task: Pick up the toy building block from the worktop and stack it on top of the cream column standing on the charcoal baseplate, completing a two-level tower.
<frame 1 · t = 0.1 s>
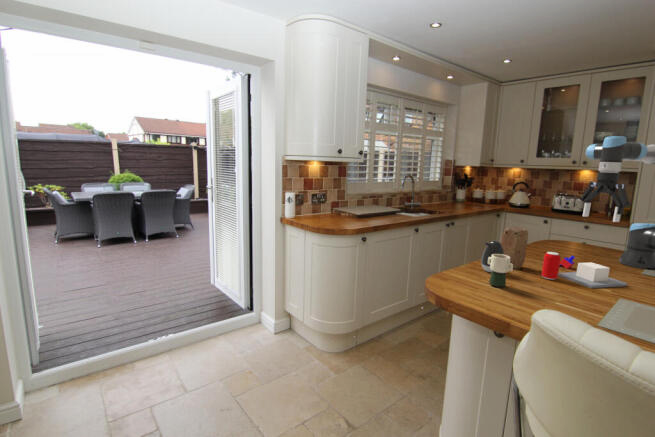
hand: (600, 219, 150), 28 cm above the table, tool pointing down, fingers open, 13 cm apart
build base: (590, 280, 150), on the table
block: (510, 266, 167), on the table
character mug: (496, 286, 139), on the table
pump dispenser: (491, 271, 158), on the table
beverage can: (548, 278, 151), on the table
toy building block: (565, 267, 169), on the table
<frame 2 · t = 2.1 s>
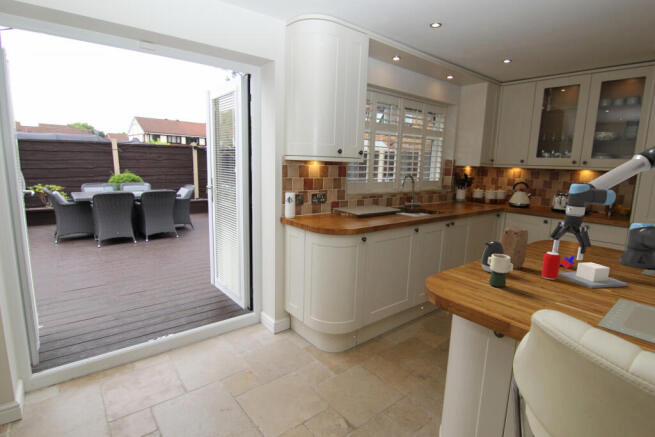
hand: (566, 255, 167), 6 cm above the table, tool pointing down, fingers open, 13 cm apart
nothing on the table moved.
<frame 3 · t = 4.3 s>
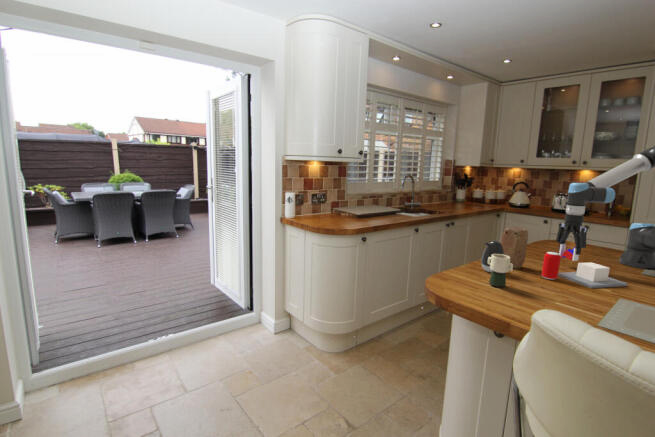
hand: (568, 258, 168), 5 cm above the table, tool pointing down, fingers closed on toy building block, 7 cm apart
toy building block: (568, 259, 168), point 4 cm above the table, touching gripper
everything else where it was.
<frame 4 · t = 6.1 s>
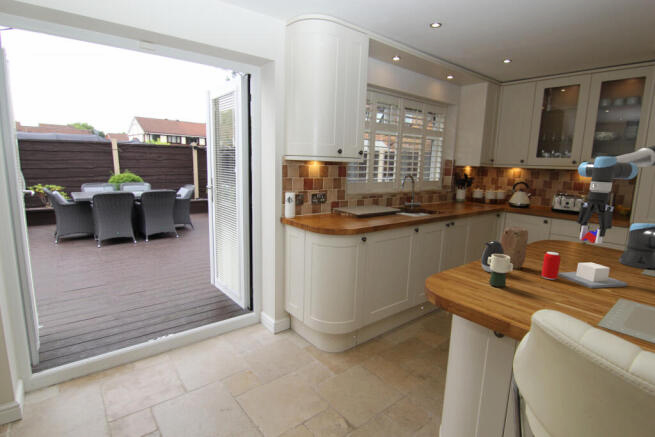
hand: (590, 241, 151), 17 cm above the table, tool pointing down, fingers closed on toy building block, 7 cm apart
toy building block: (590, 242, 151), point 17 cm above the table, touching gripper
everything else where it was.
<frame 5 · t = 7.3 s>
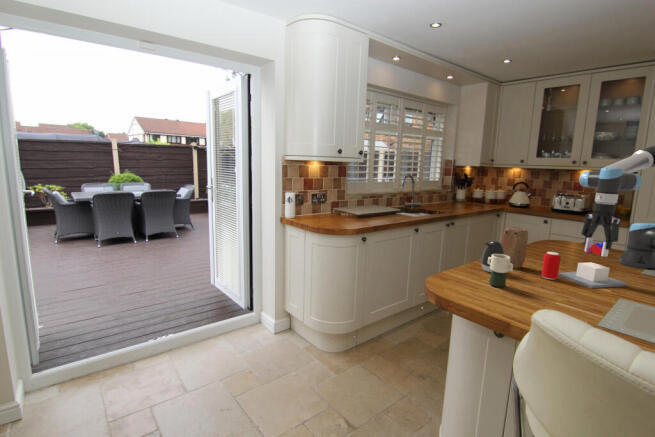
hand: (595, 253, 148), 13 cm above the table, tool pointing down, fingers closed on toy building block, 7 cm apart
toy building block: (595, 254, 148), point 12 cm above the table, touching gripper
everything else where it was.
when the fingers open (9 cm above the table, at t = 8.3 s): toy building block drops 1 cm, resting on build base.
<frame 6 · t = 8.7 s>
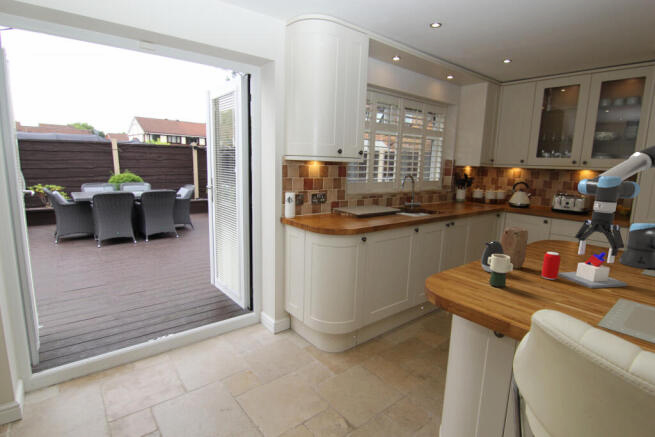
hand: (595, 258, 148), 11 cm above the table, tool pointing down, fingers open, 12 cm apart
toy building block: (594, 265, 148), point 7 cm above the table, touching build base
everything else where it was.
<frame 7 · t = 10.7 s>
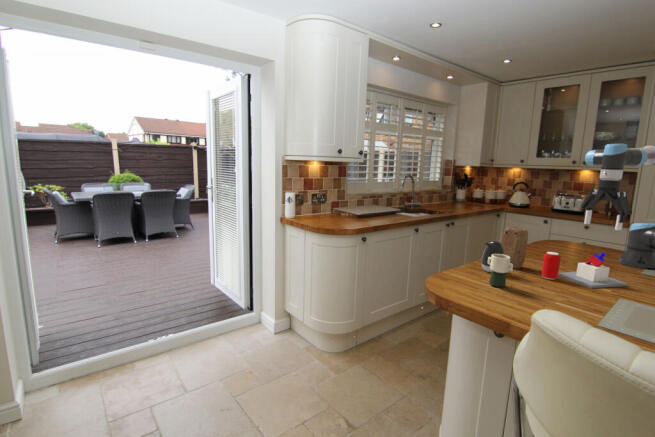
hand: (601, 226, 148), 25 cm above the table, tool pointing down, fingers open, 13 cm apart
nothing on the table moved.
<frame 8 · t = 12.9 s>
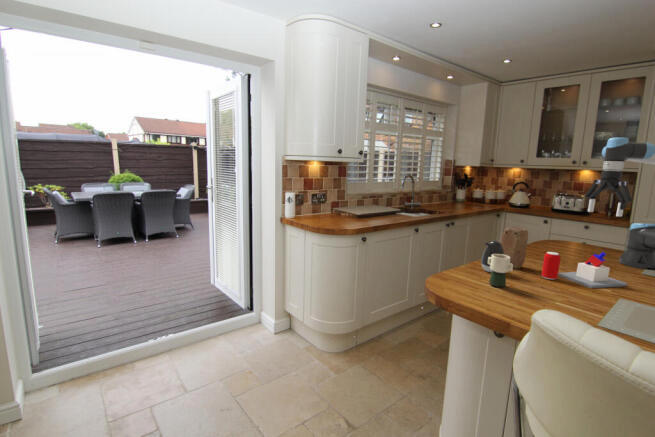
hand: (604, 214, 161), 29 cm above the table, tool pointing down, fingers open, 13 cm apart
nothing on the table moved.
at the end: toy building block 0.4 cm off-centre on the build base, point 7.0 cm above the build base's base; toy building block tilted 1°; the gripper is holding nothing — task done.
